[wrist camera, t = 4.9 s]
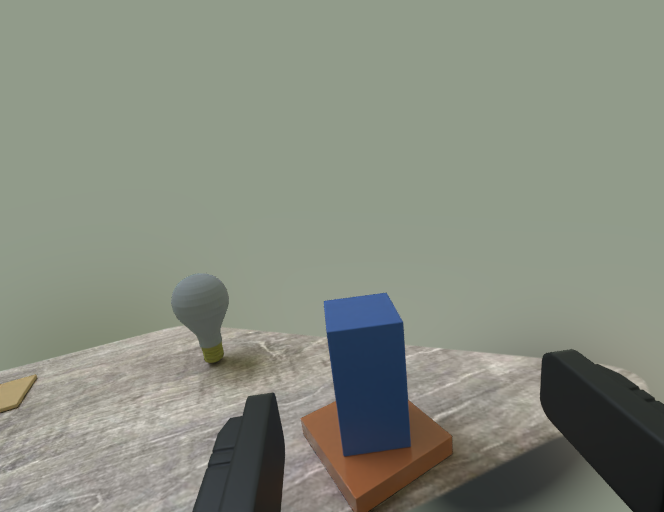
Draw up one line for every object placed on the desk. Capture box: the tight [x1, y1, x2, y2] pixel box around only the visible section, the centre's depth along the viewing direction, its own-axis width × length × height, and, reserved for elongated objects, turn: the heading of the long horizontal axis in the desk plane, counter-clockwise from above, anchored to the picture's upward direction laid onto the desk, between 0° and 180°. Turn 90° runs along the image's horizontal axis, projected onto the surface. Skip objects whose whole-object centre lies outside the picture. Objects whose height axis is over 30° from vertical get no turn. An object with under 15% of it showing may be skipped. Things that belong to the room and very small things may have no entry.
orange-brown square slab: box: [301, 400, 453, 512], centre depth 24 cm, size 8×8×2 cm
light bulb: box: [171, 274, 229, 363], centre depth 36 cm, size 5×5×10 cm
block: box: [324, 293, 411, 456], centre depth 23 cm, size 4×4×9 cm
